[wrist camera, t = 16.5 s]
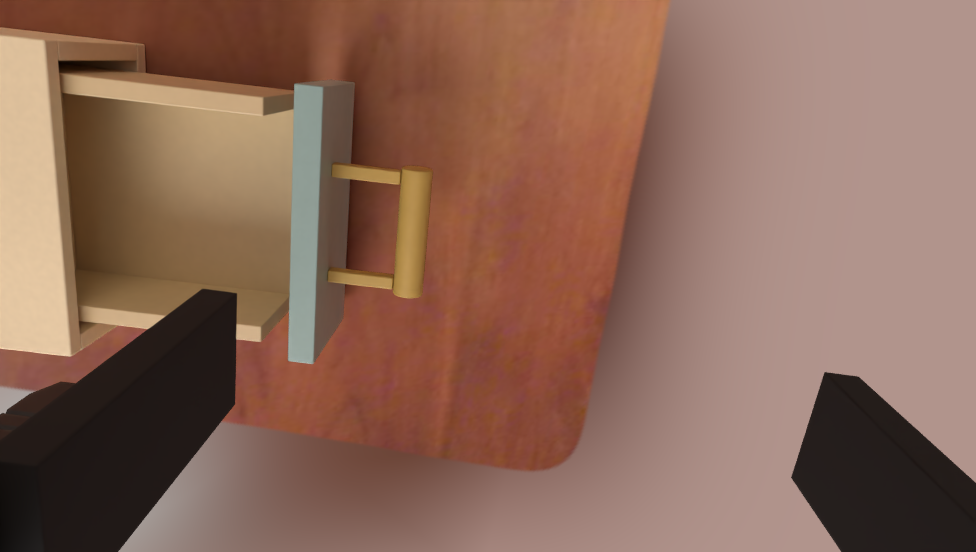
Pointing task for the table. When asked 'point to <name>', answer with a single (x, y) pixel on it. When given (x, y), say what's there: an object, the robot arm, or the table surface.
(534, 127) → the table surface
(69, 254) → the cabinet
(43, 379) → the table surface
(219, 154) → the drawer
